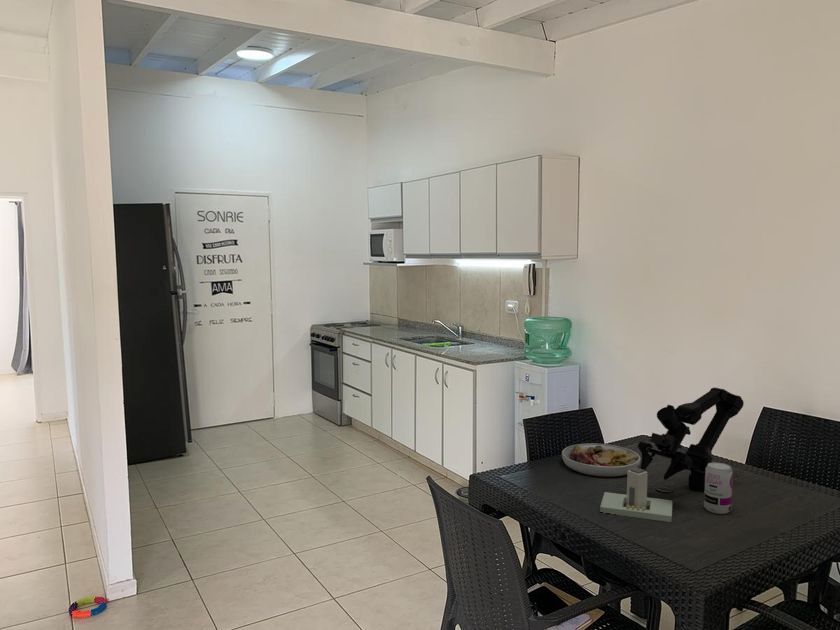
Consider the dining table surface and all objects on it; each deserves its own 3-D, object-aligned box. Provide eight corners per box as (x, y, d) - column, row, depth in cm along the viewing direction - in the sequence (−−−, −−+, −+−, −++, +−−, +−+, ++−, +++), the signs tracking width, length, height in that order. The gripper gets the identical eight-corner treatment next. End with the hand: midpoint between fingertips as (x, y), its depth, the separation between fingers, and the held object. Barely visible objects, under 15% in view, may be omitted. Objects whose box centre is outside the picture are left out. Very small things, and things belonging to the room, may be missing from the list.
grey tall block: (635, 505, 228) (636, 466, 226) (646, 510, 224) (647, 470, 223) (625, 509, 225) (626, 469, 224) (636, 513, 221) (637, 473, 220)
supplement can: (729, 506, 227) (731, 463, 225) (732, 516, 219) (734, 471, 217) (703, 503, 229) (704, 460, 228) (704, 512, 222) (706, 468, 220)
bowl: (589, 450, 290) (589, 432, 289) (654, 467, 268) (655, 447, 267) (546, 466, 269) (546, 446, 269) (613, 485, 247) (613, 464, 247)
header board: (672, 506, 227) (672, 497, 227) (671, 522, 214) (671, 512, 214) (604, 497, 235) (604, 488, 235) (600, 512, 222) (600, 503, 222)
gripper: (641, 418, 237) (619, 454, 232) (688, 430, 221) (666, 469, 217) (654, 436, 242) (634, 472, 237) (701, 449, 227) (680, 488, 222)
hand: (652, 475), depth 228 cm, fingers open, 9 cm apart
